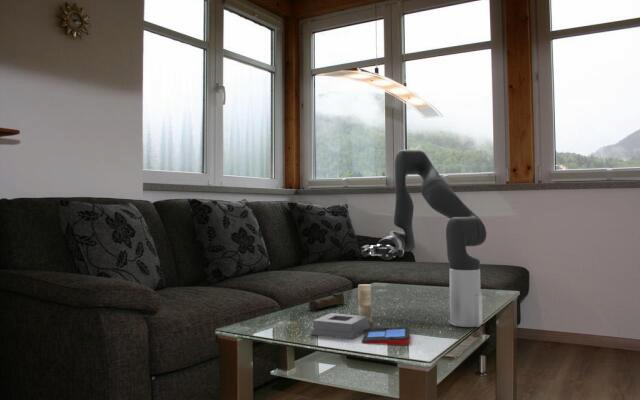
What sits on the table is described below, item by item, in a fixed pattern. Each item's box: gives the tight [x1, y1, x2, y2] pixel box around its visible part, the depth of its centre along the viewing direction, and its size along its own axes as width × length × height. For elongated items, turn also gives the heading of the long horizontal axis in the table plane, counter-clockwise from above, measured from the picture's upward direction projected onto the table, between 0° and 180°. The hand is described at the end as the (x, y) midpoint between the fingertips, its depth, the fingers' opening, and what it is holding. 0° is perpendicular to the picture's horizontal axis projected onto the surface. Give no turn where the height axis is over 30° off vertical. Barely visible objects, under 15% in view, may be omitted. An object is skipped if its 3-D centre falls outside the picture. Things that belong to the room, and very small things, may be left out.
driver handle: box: [357, 283, 372, 325], centre depth 165 cm, size 4×4×12 cm
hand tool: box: [308, 292, 345, 312], centre depth 194 cm, size 19×4×5 cm, turn 139°
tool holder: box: [310, 312, 371, 340], centre depth 154 cm, size 13×13×4 cm
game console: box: [361, 326, 410, 346], centre depth 146 cm, size 14×13×2 cm
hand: (376, 254), depth 174 cm, fingers open, 8 cm apart
